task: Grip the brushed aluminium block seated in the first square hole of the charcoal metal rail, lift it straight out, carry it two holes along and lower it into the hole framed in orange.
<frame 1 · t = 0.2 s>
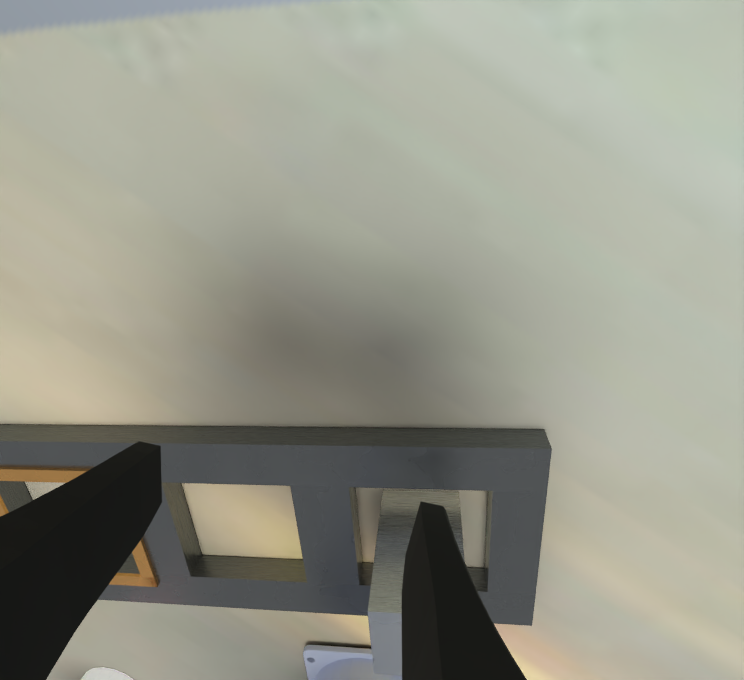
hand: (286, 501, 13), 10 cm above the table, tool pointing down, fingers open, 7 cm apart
block: (421, 519, 26), resting in rail
rail: (246, 513, 27), on the table
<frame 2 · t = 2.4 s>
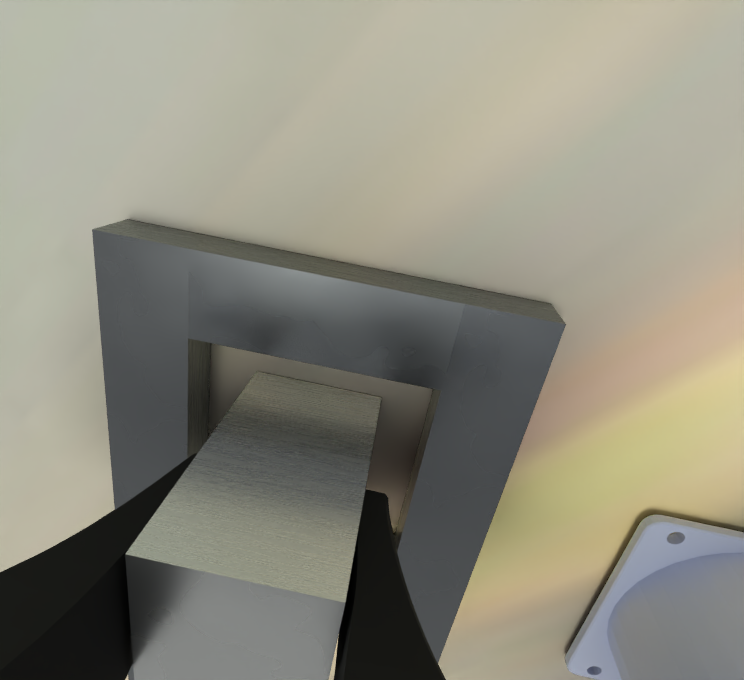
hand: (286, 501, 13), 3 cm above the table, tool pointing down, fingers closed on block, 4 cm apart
block: (311, 435, 15), resting in rail, touching gripper
rail: (283, 628, 20), on the table
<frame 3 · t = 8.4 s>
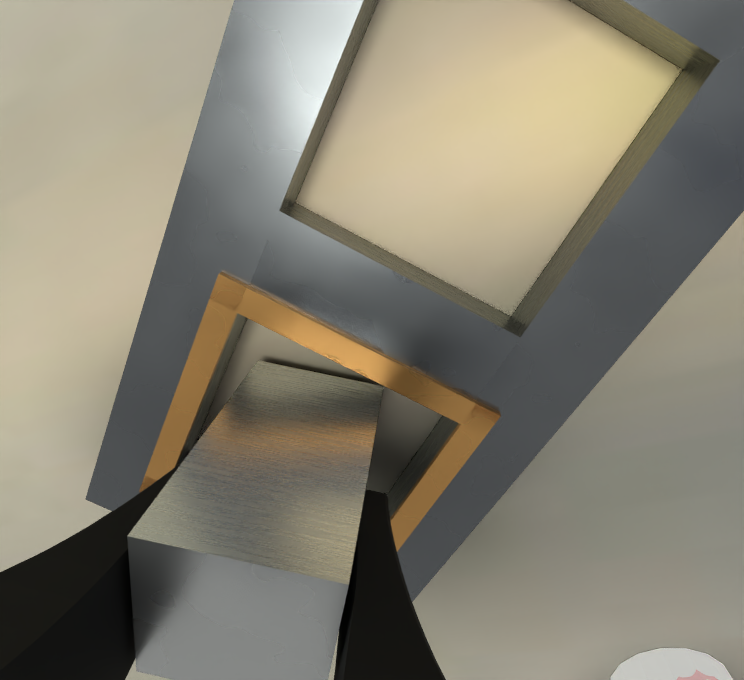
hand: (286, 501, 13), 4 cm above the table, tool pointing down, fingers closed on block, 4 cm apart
block: (313, 425, 15), resting in rail, touching gripper
beverage cup: (666, 678, 19), on the table
rail: (470, 142, 12), on the table
when the fingers open (4 cm above the table, at t = 8.9 s): block stays where it is, resting in rail.
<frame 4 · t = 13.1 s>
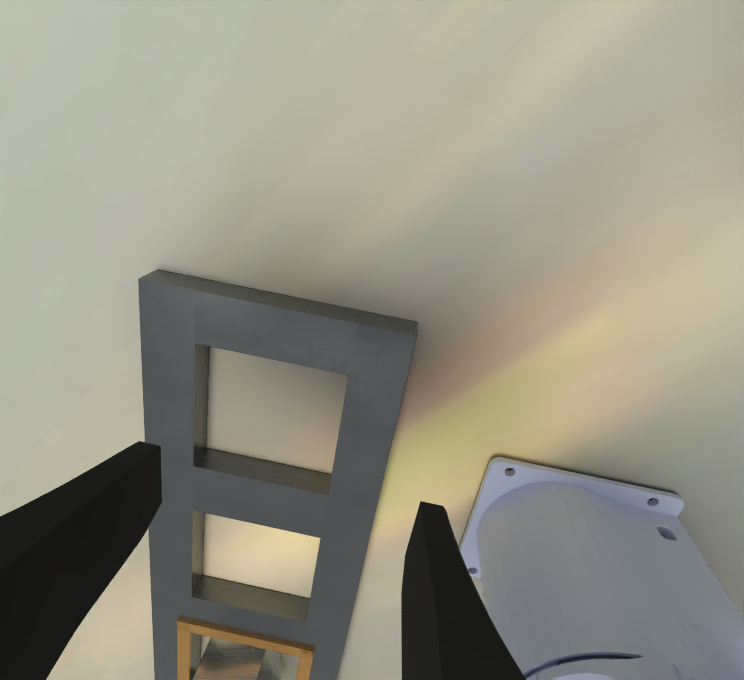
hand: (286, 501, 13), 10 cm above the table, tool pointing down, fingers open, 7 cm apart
block: (250, 647, 32), resting in rail
rail: (261, 547, 28), on the table
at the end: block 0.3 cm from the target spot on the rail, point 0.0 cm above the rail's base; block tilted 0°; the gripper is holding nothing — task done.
